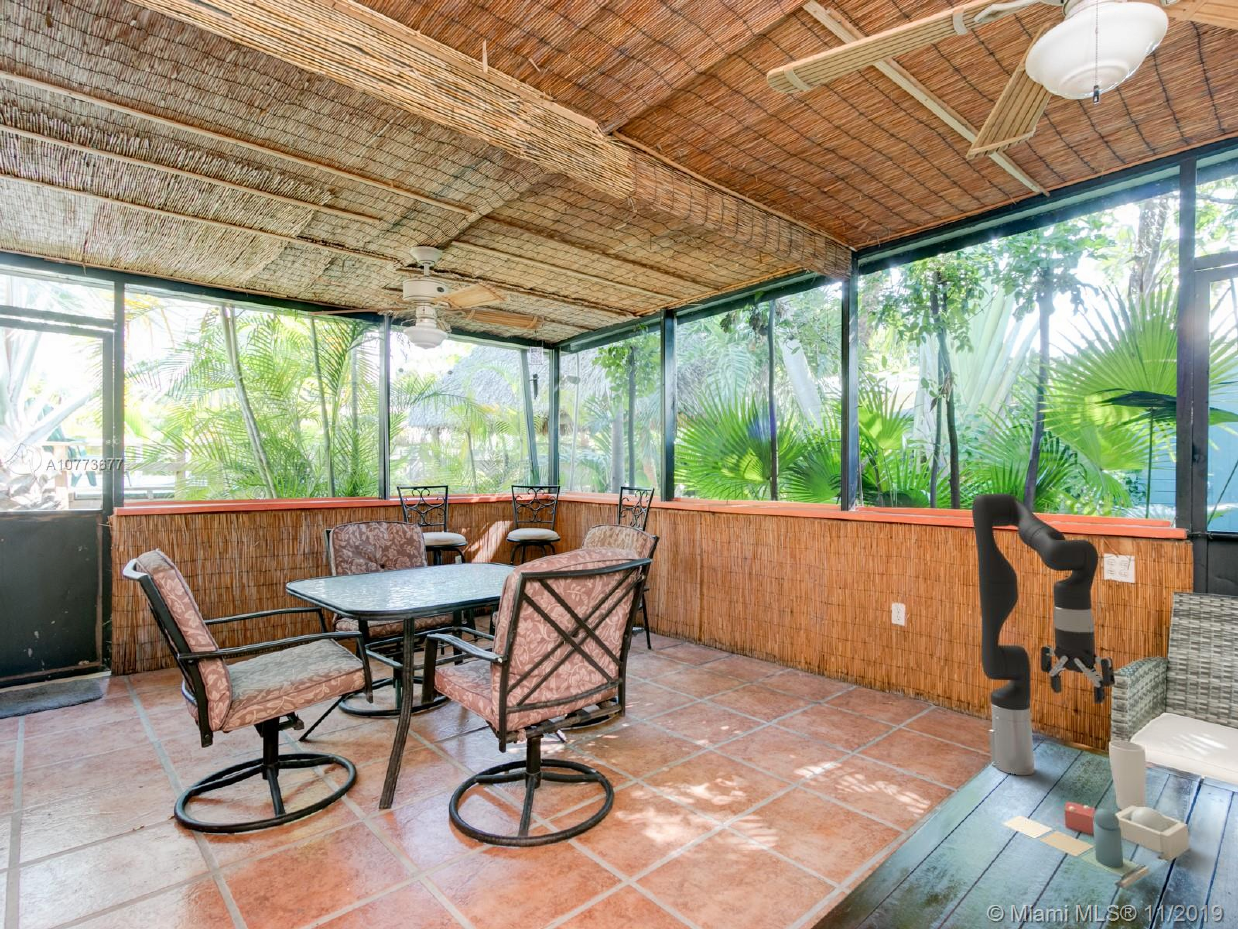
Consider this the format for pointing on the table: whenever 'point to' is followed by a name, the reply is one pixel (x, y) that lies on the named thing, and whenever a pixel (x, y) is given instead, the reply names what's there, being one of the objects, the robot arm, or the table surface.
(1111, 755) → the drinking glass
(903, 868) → the table surface
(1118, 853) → the slate blue cylinder
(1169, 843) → the dome collar
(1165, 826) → the pale grey egg
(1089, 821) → the red die
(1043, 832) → the game board
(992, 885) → the table surface
